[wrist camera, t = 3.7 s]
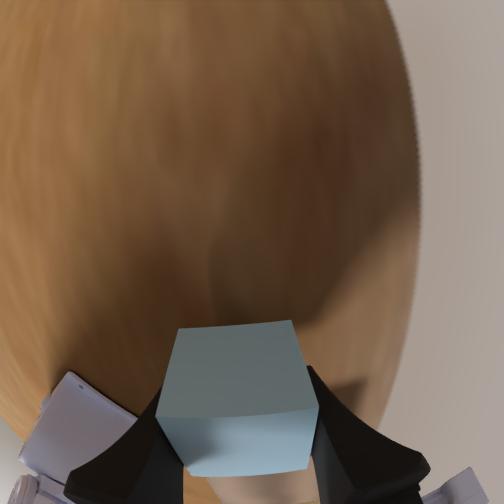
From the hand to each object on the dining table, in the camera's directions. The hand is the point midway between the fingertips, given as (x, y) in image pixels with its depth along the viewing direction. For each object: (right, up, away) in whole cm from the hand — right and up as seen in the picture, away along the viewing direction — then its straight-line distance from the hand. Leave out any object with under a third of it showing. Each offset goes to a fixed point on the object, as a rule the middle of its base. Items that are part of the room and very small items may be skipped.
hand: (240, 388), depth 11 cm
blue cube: (0, 0, +1) cm, 2 cm away
